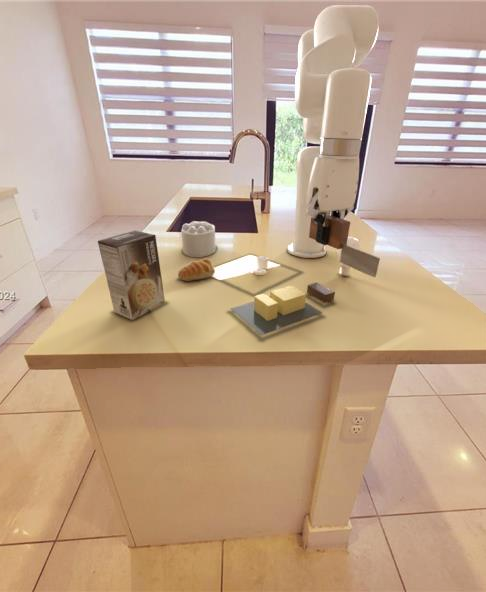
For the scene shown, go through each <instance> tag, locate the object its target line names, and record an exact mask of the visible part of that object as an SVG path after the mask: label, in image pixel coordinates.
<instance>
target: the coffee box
mask: <svg viewBox="0 0 486 592" xmlns="http://www.w3.org/2000/svg"><path fill="white" fill-rule="evenodd" d="M97 244H98V249H99V253H100V257H101V261H102V266H103V270H104V274H105V279H106V282H107V287H108V291H109V296H110V299H111V304H112V308H113V312H114V313H116V314H118V315H121V316H122V317H125V318H126V319H129V320H132V321H135V320H136V319H138V318H140V317H141V316H143V315H145V314H147V313H149V312H151V310H150V308H152V307H154V306H156V305H158V304H160V303H162V302H164V301H165V299H166V298H165V293H164V292H165V291H164V285H163V279H162V271H161V265H160V257H159V249H158V243H157V236H156V234H152V233H148V232H146V231H145V232H144V231H140V230H132V231H129V232H124V233H121V234H118V235H114V236H110V237H106V238H103V239H100V240H99V239H98V240H97Z"/></svg>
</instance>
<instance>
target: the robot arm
mask: <svg viewBox="0 0 486 592" xmlns="http://www.w3.org/2000/svg"><path fill="white" fill-rule="evenodd" d="M379 22H380V20H379V15H378V11H376V9H375V8H374V7H373V6H371V5H361V4H360V5H357V4H356V5H353V4H352V5H351V4H350V5H348V4H347V5H346V4H335V5H330V6H327V7H325V8H324V9H323V10H321V11H320V13H319V14H318V15H317V17H316V19H315V22H314V28H312V29H309V30H307V31H304V33H302V34H301V37H300V39H299V42H298V50H297V60H298V61H297V62H298V67H297V72H296V75H295V87H294V89H295V90H294V102H295V109H296V112H297V114H298V115H299V116H300V117H302V119H303V120H302V121H303V122H302V134H303V139H304V141H306V142H307V143H308V144H314V146H307V147H304V148H303V149H301V150H299V152H298V153H297V156H296V160H295V161H296V162H295V166H296V199H295V212H294V223H293V235H292V236H293V237H292V243H291V244H289V245H288V246H287V252H288V253H289V254H290V255H293V256H295V257H299V258H304V259H317V258H322V257H324V256H325V255H326V254H327V249H326V248H325V246H328V245H327V244H328V239H329V232H330V227H329V226H328V224H329V219H330V215H331V216H334V217H337V218H340V219H343V220H345V218H346V217H347V215H348V214H349V213H350V212H351V211H353V210H354V208H355V202H356V200H357V199H356V198H357V194H358V186H359V176H360V152H361V147H362V140H363V134H364V127H365V123H366V116H367V111H368V104H369V100H370V91H371V87H372V86H371V85H372V75H371V73H370V72H369V70H367V69H363V68H358V67H359V66H361V64H362V63H363V62H364V60H365V59H366V57H367V56H368V55H369V54H370V53H371V51H372V49H373V48H374V46H375V44H376V42H377V38H378V35H379V27H380V23H379ZM315 145H318V146H315ZM322 214H324V217H323V216H322ZM311 217H312V218H313V219H314V220H315V223H316V224H317V233H316V240H314V239H312V238H309V232H310V223H311Z"/></svg>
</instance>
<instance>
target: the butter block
mask: <svg viewBox="0 0 486 592" xmlns="http://www.w3.org/2000/svg"><path fill="white" fill-rule="evenodd" d="M269 297H270V298H271V299H273V300H274V301H276V302H277V303H278V312H279V313H281V314H282V315H286V314H289V313H292V312H295V311H298V310H300V309H303V308H305V302H306V301H307V293H305V292H303V291H302V290H300V289H298V288H297V287H296V286H293V285H288V286H285V287H282V288H278V289H275V290H271V291H270V292H269Z"/></svg>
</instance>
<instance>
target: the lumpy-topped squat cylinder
mask: <svg viewBox="0 0 486 592" xmlns="http://www.w3.org/2000/svg"><path fill="white" fill-rule="evenodd" d="M181 242H182V252H183V254H185V255H186V256H188V257H190V258H205V257H207V256H210V255H213V254H214V253H215V252H216V246H217V245H216V226H215V225H214V224H213V223H209V222H207V221H195V220H193V221H191V222H189V223H184V224H183V225H182V226H181Z"/></svg>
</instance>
